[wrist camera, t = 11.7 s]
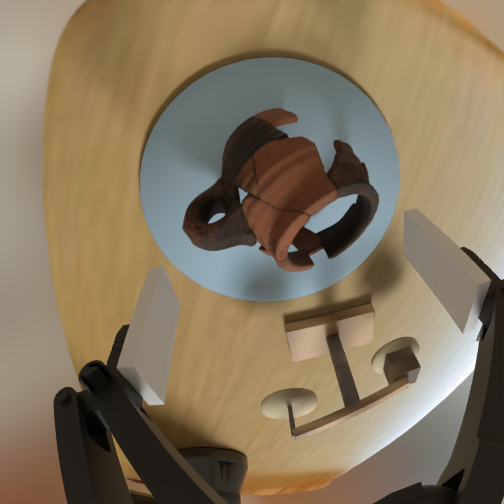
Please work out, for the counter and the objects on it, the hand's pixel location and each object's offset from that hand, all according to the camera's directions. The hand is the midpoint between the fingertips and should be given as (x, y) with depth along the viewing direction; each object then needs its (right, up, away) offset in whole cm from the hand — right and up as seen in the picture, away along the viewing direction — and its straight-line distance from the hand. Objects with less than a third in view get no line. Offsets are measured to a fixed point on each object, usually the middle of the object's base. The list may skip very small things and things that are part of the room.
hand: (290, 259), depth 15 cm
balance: (+6, -8, +15) cm, 18 cm away
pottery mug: (-1, +6, +6) cm, 8 cm away
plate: (0, +5, +7) cm, 8 cm away
